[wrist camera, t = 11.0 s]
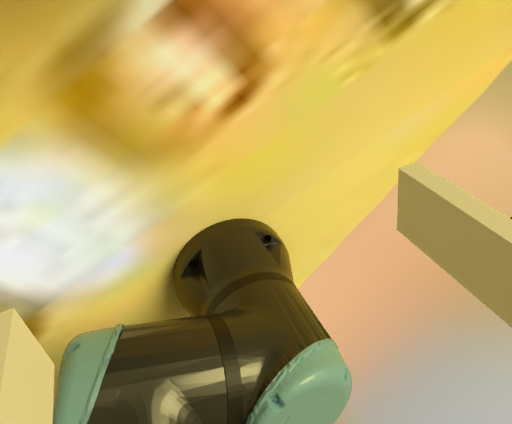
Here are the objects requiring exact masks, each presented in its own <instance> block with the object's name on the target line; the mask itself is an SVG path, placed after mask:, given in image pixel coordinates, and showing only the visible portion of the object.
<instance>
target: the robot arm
mask: <svg viewBox="0 0 512 424" xmlns="http://www.w3.org/2000/svg"><path fill="white" fill-rule="evenodd" d="M397 230H398V231H399V232H401V233H402V234H403V235H404V236H405V237H407V238H408V239H409V240H410V241H411V242H412V243H414V244H415V245H416V246H417V247H418V248H419V249H420V250H422V251H423V252H424V253H425V254H426V255H427V256H429V257H430V258H431V259H432V260H433V261H435V262H436V263H437V264H438V265H439V266H440V267H442V268H443V269H444V270H445V271H446V272H447V273H449V274H450V275H451V276H452V277H453V278H454V279H456V280H457V281H458V282H459V283H460V284H462V285H463V286H464V287H465V288H466V289H467V290H469V291H470V292H471V293H472V294H473V295H474V296H476V297H477V298H478V299H479V300H480V301H481V302H482V303H484V304H485V305H486V306H487V307H489V308H490V309H491V310H492V311H493V312H494V313H496V314H497V315H498V316H499V317H500V318H501V319H502V320H504V321H505V322H506V323H507V324H508V325H509V326H511V327H512V217H511V218H509V217H507V216H505V215H504V214H502V213H500V212H499V211H497V210H496V209H494V208H492V207H491V206H489V205H487V204H486V203H484V202H482V201H481V200H479V199H477V198H476V197H474V196H473V195H471V194H469V193H468V192H466V191H464V190H463V189H461V188H459V187H458V186H456V185H455V184H453V183H451V182H450V181H448V180H446V179H445V178H443V177H441V176H440V175H438V174H436V173H435V172H433V171H432V170H430V169H428V168H427V167H425V166H423V165H422V164H420V163H418V162H415V163H412V164H410V165H407V166H404V167H401V168H399V180H398V216H397ZM174 285H175V288H176V291H177V294H178V298H179V300H180V302H181V304H182V305H183V307H184V308H185V309H186V310H187V311H188V313H189V314H190V315H191V316H192V317H189V318H181V319H173V320H166V321H158V322H150V323H143V324H135V325H127V326H124V324H118V325H117V326H116V327H114V328H108V329H103V330H98V331H92V332H86V333H83V334H80V335H78V336H76V337H75V338H74V339H73V340H72V341H71V342H70V343H69V344H68V346H67V347H66V349H65V352H64V354H63V358H62V362H61V367H60V373H59V378H58V385H57V391H56V398H55V406H54V414H53V398H54V371H55V365H54V363H53V362H52V361H51V359H50V358H49V356H48V355H47V354H46V352H45V351H44V349H43V348H42V347H41V345H40V344H39V343H38V341H37V340H36V338H35V337H34V336H33V334H32V333H31V331H30V330H29V329H28V327H27V326H26V325H25V323H24V322H23V320H22V319H21V318H20V316H19V315H18V313H17V312H16V311H15V309H14V308H12V309H10V310H7V311H4V312H1V313H0V424H334V422H335V421H336V420H337V419H338V417H339V416H340V414H341V413H342V411H343V410H344V408H345V406H346V404H347V402H348V400H349V397H350V394H351V389H352V378H351V374H350V371H349V369H348V367H347V365H346V363H345V362H344V359H343V358H342V356H341V354H340V352H339V350H338V346H337V345H336V343H335V342H334V341H333V340H332V339H331V338H330V336H329V335H328V333H327V332H326V330H325V329H324V327H323V326H322V324H321V323H320V321H319V320H318V318H317V317H316V316H315V314H314V313H313V311H312V310H311V308H310V307H309V305H308V304H307V303H306V301H305V299H304V298H303V297H302V295H301V293H300V292H299V291H298V289H297V288H296V286H295V285H294V282H293V276H292V271H291V265H290V259H289V254H288V251H287V249H286V247H285V245H284V243H283V242H282V240H281V239H280V237H279V236H278V235H277V233H276V232H275V231H274V230H273V229H272V228H271V227H269V226H268V225H266V224H264V223H262V222H259V221H256V220H251V219H232V220H227V221H223V222H220V223H217V224H214V225H212V226H210V227H208V228H206V229H205V230H203V231H201V232H200V233H199V234H197V235H196V236H195V237H194V238H193V239H191V240H190V241H189V243H188V244H187V245H186V246H185V247H184V249H183V250H182V252H181V253H180V255H179V257H178V259H177V261H176V264H175V268H174Z"/></svg>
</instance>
